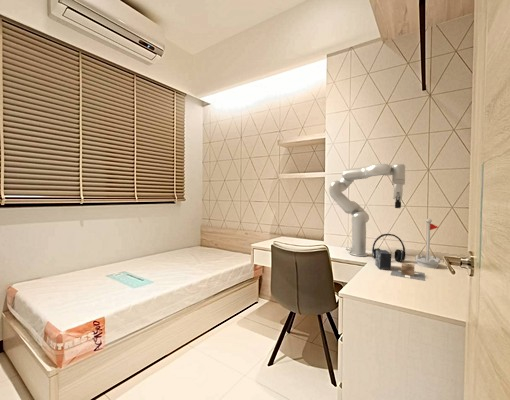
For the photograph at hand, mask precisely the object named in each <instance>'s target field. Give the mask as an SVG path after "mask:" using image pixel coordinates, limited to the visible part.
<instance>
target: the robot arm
mask: <svg viewBox="0 0 510 400" xmlns="http://www.w3.org/2000/svg"><path fill="white" fill-rule="evenodd" d="M341 176H342V177H341V179H340V180H334V181H332V182H331V184H330V185H329V188H328V190H329V191H328V192H329V195H330V197H331V199H332V200H333V201H334V202H335V203H336V204H337V205H338V206H339V208H341V209H342V211H344V213H345V214H348V215H349V214H350V216H351V229H352V230H351V247H345V251H349V255H351V256H356V257H368V256H369V254H368V252H366V250H367V248H366V247H367V246H366V245H367V224H366V223H368V221H369V220H370V216H369V214H368V213H367V211H365V209H364V208H363V207H361V205H359V203H358V202H356V201H354V200H353V201H352V200H351V199H349V198H348V197H347V196H346V195H345V194H344V193H343V192H344V191H345V190H347V189H348V188H349V186H350V185H352V184H353V182H354V181H355V180H356V181H357V180H365V179H368V178H371V177H377V176H384V177H388V176H389V177H390V176H391V177H392V181H391V183H392V186H393V193H392V194H393V195H392V196H393V198H392V199H393V200H395V202H394V208H395V209H401V208H402V201H401V200H402V199H403V187H404V186H405V185H406V165H405V164H404V163H403V164H402V163H396V164H393V165H390V164H388V163H381V164H373V165H367V166H362V167H354V168H346V169H344V171H342V174H341Z"/></svg>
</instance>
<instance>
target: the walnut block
mask: <svg viewBox="0 0 510 400" xmlns="http://www.w3.org/2000/svg"><path fill="white" fill-rule="evenodd" d="M400 269H401V274H402V275H408V276H414V271H415V264H411V263H405V262H402V263H401V268H400Z"/></svg>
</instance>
